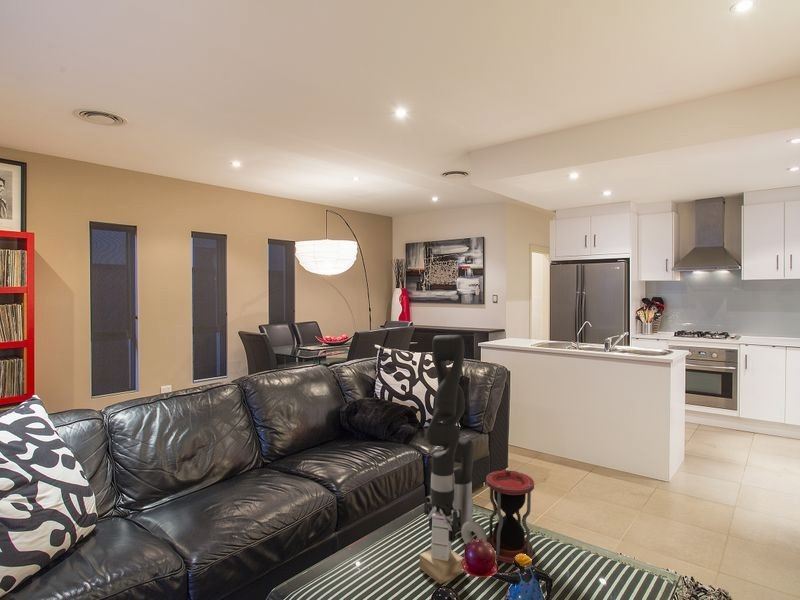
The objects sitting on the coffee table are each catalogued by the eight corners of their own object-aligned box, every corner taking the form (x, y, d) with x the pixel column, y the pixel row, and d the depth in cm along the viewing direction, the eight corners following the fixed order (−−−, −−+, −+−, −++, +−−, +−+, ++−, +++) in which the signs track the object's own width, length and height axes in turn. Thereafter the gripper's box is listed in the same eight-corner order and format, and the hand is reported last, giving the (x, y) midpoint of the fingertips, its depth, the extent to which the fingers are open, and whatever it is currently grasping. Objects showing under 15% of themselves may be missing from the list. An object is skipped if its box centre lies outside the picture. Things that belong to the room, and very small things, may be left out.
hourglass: (541, 549, 166) (542, 478, 165) (518, 570, 154) (520, 494, 153) (500, 532, 177) (501, 466, 176) (476, 550, 165) (477, 479, 164)
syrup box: (448, 562, 151) (450, 517, 150) (430, 558, 152) (432, 514, 151) (451, 551, 156) (453, 508, 155) (433, 548, 158) (435, 505, 157)
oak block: (442, 558, 161) (442, 544, 161) (463, 573, 153) (463, 558, 153) (419, 569, 155) (419, 554, 155) (440, 585, 147) (440, 569, 147)
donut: (459, 546, 168) (459, 518, 168) (464, 542, 171) (465, 514, 170) (483, 557, 161) (483, 528, 161) (488, 553, 164) (489, 524, 163)
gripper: (467, 489, 150) (466, 540, 151) (435, 475, 161) (434, 522, 161) (450, 497, 145) (450, 549, 146) (418, 481, 156) (418, 529, 157)
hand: (441, 534), depth 154 cm, fingers open, 8 cm apart
